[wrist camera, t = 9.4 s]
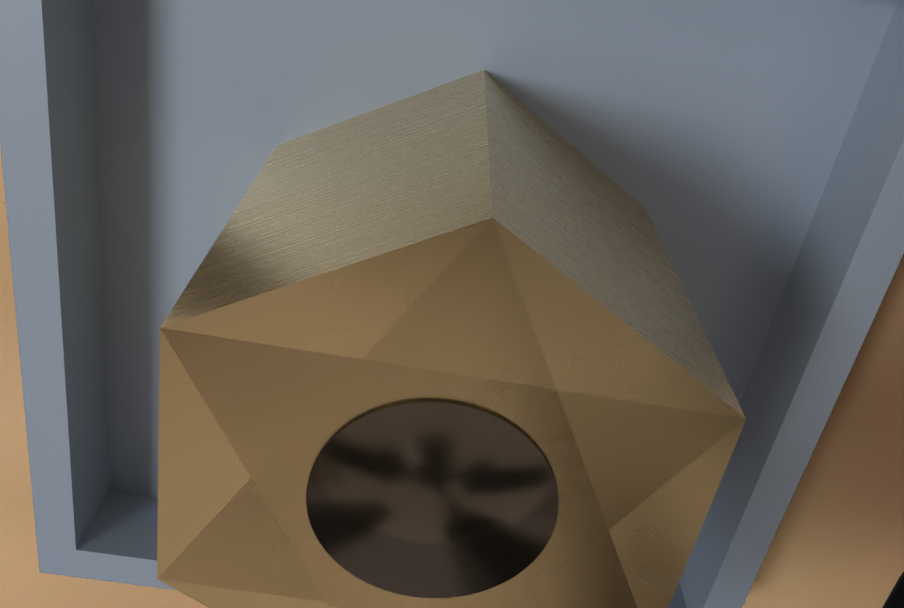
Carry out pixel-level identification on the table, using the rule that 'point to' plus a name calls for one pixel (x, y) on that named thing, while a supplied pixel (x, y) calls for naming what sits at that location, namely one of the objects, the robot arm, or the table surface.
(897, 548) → the table surface
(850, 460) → the table surface
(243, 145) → the tray
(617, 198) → the brass nut
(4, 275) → the table surface
